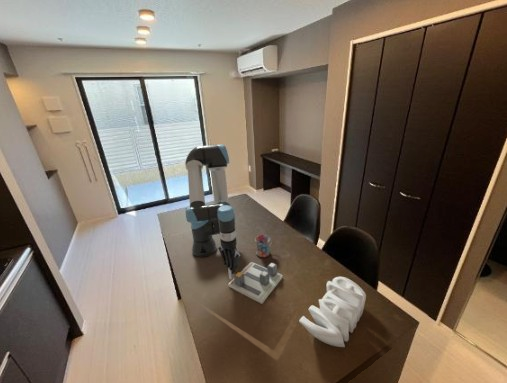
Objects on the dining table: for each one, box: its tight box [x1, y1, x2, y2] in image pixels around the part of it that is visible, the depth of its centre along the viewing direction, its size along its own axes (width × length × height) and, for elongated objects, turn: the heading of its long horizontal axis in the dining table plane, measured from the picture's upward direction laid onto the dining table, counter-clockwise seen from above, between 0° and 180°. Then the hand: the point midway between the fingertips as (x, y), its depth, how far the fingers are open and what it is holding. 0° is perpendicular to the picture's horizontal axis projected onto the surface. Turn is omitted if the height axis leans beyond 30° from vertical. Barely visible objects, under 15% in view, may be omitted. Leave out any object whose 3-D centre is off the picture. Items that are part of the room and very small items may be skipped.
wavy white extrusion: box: [298, 276, 367, 348], centre depth 93 cm, size 35×16×11 cm, turn 134°
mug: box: [254, 234, 274, 258], centre depth 137 cm, size 12×9×11 cm
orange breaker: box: [233, 271, 245, 287], centre depth 112 cm, size 4×4×6 cm
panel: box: [228, 261, 283, 304], centre depth 115 cm, size 20×20×7 cm
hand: (231, 277), depth 115 cm, fingers closed
